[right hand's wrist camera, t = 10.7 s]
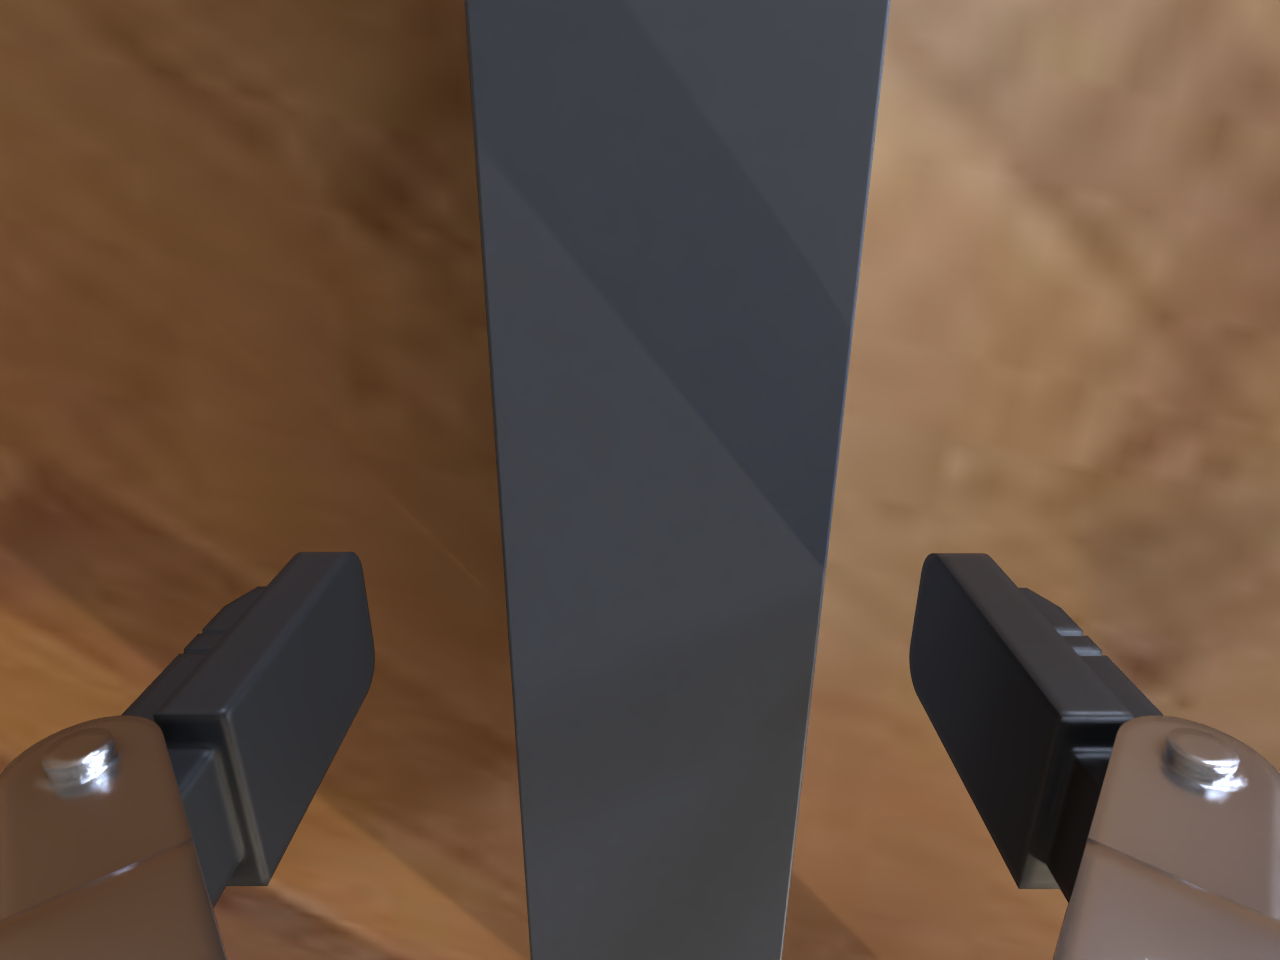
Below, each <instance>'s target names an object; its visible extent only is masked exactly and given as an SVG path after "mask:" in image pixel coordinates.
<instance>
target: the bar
mask: <svg viewBox="0 0 1280 960" xmlns="http://www.w3.org/2000/svg"><path fill="white" fill-rule="evenodd" d="M889 9H890V0H465V14H466V29H467V43H468V57H469V72H470V86H471V101H472V115H473V130H474V144H475V159H476V173H477V188H478V202H479V216H480V231H481V245H482V260H483V274H484V289H485V303H486V318H487V332H488V347H489V361H490V375H491V390H492V404H493V419H494V433H495V448H496V462H497V477H498V491H499V506H500V520H501V534H502V549H503V563H504V578H505V592H506V607H507V621H508V636H509V650H510V665H511V679H512V693H513V708H514V722H515V737H516V751H517V766H518V780H519V795H520V809H521V823H522V838H523V852H524V867H525V881H526V896H527V910H528V925H529V939H530V954H531V960H782V951H783V942H784V933H785V925H786V916H787V907H788V898H789V889H790V881H791V872H792V863H793V854H794V845H795V837H796V828H797V819H798V810H799V801H800V792H801V784H802V775H803V766H804V757H805V748H806V740H807V731H808V722H809V713H810V704H811V696H812V687H813V678H814V669H815V660H816V652H817V643H818V634H819V625H820V616H821V607H822V599H823V590H824V581H825V572H826V563H827V555H828V546H829V537H830V528H831V519H832V511H833V502H834V493H835V484H836V475H837V467H838V458H839V449H840V440H841V431H842V423H843V414H844V405H845V396H846V387H847V378H848V370H849V361H850V352H851V343H852V334H853V326H854V317H855V308H856V299H857V290H858V282H859V273H860V264H861V255H862V246H863V238H864V229H865V220H866V211H867V202H868V193H869V185H870V176H871V167H872V158H873V149H874V141H875V132H876V123H877V114H878V105H879V97H880V88H881V79H882V70H883V61H884V53H885V44H886V35H887V26H888V17H889Z"/></svg>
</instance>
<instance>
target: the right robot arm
mask: <svg viewBox="0 0 1280 960" xmlns="http://www.w3.org/2000/svg"><path fill="white" fill-rule="evenodd" d="M202 630H203V633H202V634H198V635H197V636H196V637H195V638H194V639H193V640H192V641H191V642H190V643H189V644H188V645H187V646H186V647H185V648H184V654H179V655H178V656H177V657H176V658H175V659H174V660H173V661H172V662H171V663H170V664H169V665H168V666H167V667H166V669H165V670H164V671H163V672H162V673H161V674H160V675H159V676H158V677H157V678H156V679H155V680H154V681H153V682H152V683H151V684H150V685H149V686H148V688H147V689H146V690H145V691H144V692H143V693H142V694H141V695H140V696H139V697H138V698H137V699H136V700H135V701H134V702H133V703H132V704H131V705H130V707H129V708H128V709H127V710H126V711H125V712H124V713H123V714H122V715H121V716H111V717H104V718H99V719H94V720H90V721H87V722H83V723H80V724H77V725H74V726H71V727H69V728H66V729H63V730H61V731H59V732H57V733H55V734H52V735H50V736H48V737H46V738H45V739H43V740H41V741H39V742H37V743H36V744H34V745H33V746H31V747H30V748H28V749H27V750H25V751H24V752H22V753H21V754H20V755H19V756H17V757H16V758H15V759H14V760H13V761H12V762H11V763H10V764H9V765H8V766H7V767H6V768H5V769H4V770H3V772H2V773H1V774H0V960H227V956H226V953H225V949H224V946H223V942H222V939H221V935H220V932H219V928H218V924H217V921H216V917H215V914H214V910H213V908H214V906H215V905H216V903H217V901H218V899H219V898H220V896H221V894H222V892H223V891H224V889H225V887H226V886H267V885H268V883H269V881H270V880H271V878H272V876H273V874H274V872H275V870H276V868H277V866H278V864H279V862H280V860H281V858H282V856H283V855H284V853H285V851H286V849H287V847H288V845H289V843H290V841H291V839H292V837H293V835H294V833H295V831H296V829H297V828H298V826H299V824H300V822H301V820H302V818H303V816H304V814H305V812H306V810H307V808H308V806H309V804H310V802H311V801H312V799H313V797H314V795H315V793H316V791H317V789H318V787H319V785H320V783H321V781H322V779H323V777H324V776H325V774H326V772H327V770H328V768H329V766H330V764H331V762H332V760H333V758H334V756H335V754H336V752H337V750H338V749H339V747H340V745H341V743H342V741H343V739H344V737H345V735H346V733H347V731H348V729H349V727H350V725H351V724H352V722H353V720H354V718H355V716H356V714H357V712H358V710H359V708H360V706H361V704H362V702H363V700H364V698H365V697H366V695H367V693H368V690H369V688H370V685H371V681H372V677H373V671H374V660H375V653H374V642H373V636H372V629H371V622H370V616H369V609H368V603H367V596H366V589H365V583H364V576H363V570H362V565H361V562H360V560H359V557H358V556H357V555H356V554H355V553H353V552H299V553H297V554H296V555H295V556H294V557H293V558H292V559H291V560H290V561H289V562H288V563H287V565H286V566H285V567H284V568H283V569H282V570H281V571H280V572H279V574H278V575H277V576H276V577H275V578H274V579H273V580H272V581H271V583H270V584H269V585H268V586H267V587H257V588H255V589H253V590H252V591H250V592H248V593H246V594H245V595H243V596H241V597H240V598H238V599H236V600H234V601H233V602H231V603H229V604H228V605H226V606H224V607H223V608H222V609H221V610H220V612H219V613H218V614H217V615H216V616H215V617H214V618H213V619H212V620H211V621H210V622H209V623H208V624H207V625H206V626H205V627H204V628H203V629H202ZM909 658H910V672H911V678H912V682H913V686H914V689H915V692H916V694H917V696H918V698H919V700H920V702H921V703H922V705H923V707H924V709H925V711H926V713H927V715H928V717H929V719H930V721H931V722H932V724H933V726H934V728H935V730H936V732H937V734H938V736H939V738H940V740H941V741H942V743H943V745H944V747H945V749H946V751H947V753H948V755H949V757H950V759H951V761H952V762H953V764H954V766H955V768H956V770H957V772H958V774H959V776H960V778H961V780H962V781H963V783H964V785H965V787H966V789H967V791H968V793H969V795H970V797H971V799H972V800H973V802H974V804H975V806H976V808H977V810H978V812H979V814H980V816H981V818H982V820H983V821H984V823H985V825H986V827H987V829H988V831H989V833H990V835H991V837H992V839H993V840H994V842H995V844H996V846H997V848H998V850H999V852H1000V854H1001V856H1002V858H1003V859H1004V861H1005V863H1006V865H1007V867H1008V869H1009V871H1010V873H1011V875H1012V877H1013V879H1014V880H1015V882H1016V884H1017V886H1018V888H1019V889H1061V891H1062V893H1063V894H1064V896H1065V898H1066V899H1067V901H1068V907H1067V910H1066V914H1065V917H1064V921H1063V924H1062V928H1061V932H1060V935H1059V939H1058V942H1057V946H1056V949H1055V953H1054V956H1053V960H1280V774H1279V773H1278V772H1277V770H1276V769H1275V768H1274V767H1273V766H1272V765H1271V764H1270V763H1269V762H1268V761H1267V760H1266V759H1265V758H1264V757H1263V756H1261V755H1260V754H1259V753H1258V752H1256V751H1255V750H1253V749H1252V748H1250V747H1249V746H1247V745H1246V744H1244V743H1243V742H1241V741H1239V740H1237V739H1235V738H1234V737H1232V736H1230V735H1228V734H1225V733H1223V732H1221V731H1219V730H1217V729H1214V728H1211V727H1209V726H1206V725H1203V724H1200V723H1197V722H1193V721H1190V720H1186V719H1181V718H1176V717H1169V716H1164V715H1163V714H1162V713H1161V712H1160V711H1159V710H1158V709H1157V708H1156V707H1155V706H1154V705H1153V704H1152V703H1151V702H1150V701H1149V700H1148V699H1147V698H1146V696H1145V695H1144V694H1143V693H1142V692H1141V691H1140V690H1139V689H1138V688H1137V687H1136V686H1135V685H1134V684H1133V683H1132V682H1131V681H1130V680H1129V679H1128V678H1127V677H1126V676H1125V674H1124V673H1123V672H1122V671H1121V670H1120V669H1119V668H1118V667H1117V666H1116V665H1115V664H1114V663H1113V662H1112V661H1111V660H1110V659H1109V658H1108V657H1107V656H1102V650H1101V649H1100V648H1099V647H1098V646H1097V645H1096V644H1095V643H1094V642H1093V641H1092V640H1091V639H1090V638H1089V637H1088V636H1083V631H1082V630H1081V628H1080V627H1079V626H1078V625H1077V624H1076V623H1075V622H1074V621H1073V620H1072V619H1071V618H1070V617H1069V616H1068V615H1067V614H1066V613H1065V612H1064V611H1063V610H1062V609H1061V608H1060V607H1058V606H1057V605H1055V604H1053V603H1052V602H1050V601H1048V600H1046V599H1045V598H1043V597H1041V596H1040V595H1038V594H1036V593H1034V592H1033V591H1031V590H1029V589H1028V588H1018V587H1017V586H1016V585H1015V584H1014V583H1013V582H1012V580H1011V579H1010V578H1009V577H1008V576H1007V575H1006V574H1005V573H1004V572H1003V570H1002V569H1001V568H1000V567H999V566H998V565H997V564H996V563H995V562H994V560H993V559H992V558H991V557H990V556H989V555H987V554H983V553H932V554H929V555H928V556H927V558H926V559H925V561H924V564H923V567H922V573H921V579H920V586H919V592H918V599H917V605H916V612H915V618H914V625H913V631H912V638H911V644H910V656H909Z"/></svg>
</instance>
